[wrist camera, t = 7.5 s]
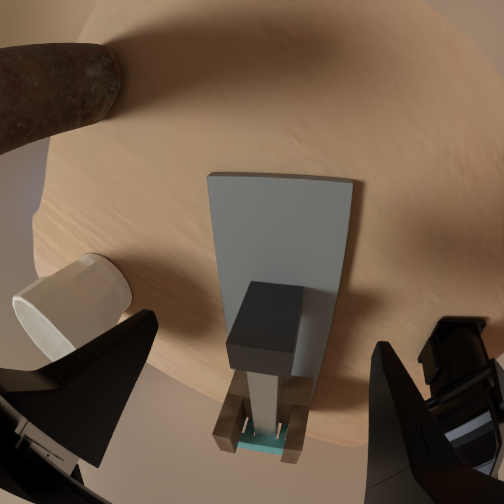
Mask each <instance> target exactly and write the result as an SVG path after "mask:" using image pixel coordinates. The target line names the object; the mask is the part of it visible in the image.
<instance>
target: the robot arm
mask: <svg viewBox="0 0 504 504" xmlns="http://www.w3.org/2000/svg"><path fill="white" fill-rule="evenodd" d="M486 324H487V323H486V321H485V320H484V319H441V320H439V321H438V322H437V324H436V326H435V328H434V330H433V332H432V334H431V336H430V337H429V339H428V340H427V342H426V344H425V346H424V347H423V349H422V351H421V353H420V355H419V357H418V363H422V365H423V371H424V377H425V383H426V384H427V385H429V386H430V392H431V398H429V399H427V400H424V399H423V397H422V395H421V393H420V392H419V390H418V388H417V387H416V385H415V383H414V382H413V380H412V378H411V377H410V375H409V373H408V372H407V370H406V369H405V367H404V365H403V364H402V362H401V360H400V359H399V357H398V356H397V354H396V353H395V351H394V349H393V348H392V346H391V345H390V343H389V342H387V341H378V342H377V344H376V346H375V349H374V351H373V354H372V357H371V370H370V384H369V441H368V465H367V480H366V491H365V499H364V504H504V481H501V480H498V470H499V468H500V465H501V462H502V460H503V457H504V370H503V369H502V367H501V366H500V365H499V363H498V362H497V361H496V359H495V358H494V357H493V358H492V359H490V360H489V357H488V354H487V351H486V349H485V346H484V343H483V340H482V338H481V333H482V331H483V330H484V328H485V326H486ZM158 327H159V325H158V321H157V318H156V316H155V313H154V311H153V310H149V309H143V310H141V311H139V312H138V313H136V314H134V315H133V316H131V317H129V318H128V319H126V320H124V321H123V322H121V323H119V324H118V325H116V326H114V327H113V328H111V329H110V330H108V331H106V332H105V333H103V334H101V335H100V336H98V337H96V338H95V339H93V340H91V341H90V342H88V343H86V344H85V345H83V346H82V347H80V348H78V349H76V350H75V351H73V352H71V353H69V354H68V355H66V356H64V357H62V358H60V359H58V360H56V361H54V362H52V363H50V364H48V365H46V366H44V367H42V368H40V369H38V370H34V371H22V370H13V369H4V368H0V488H1V489H3V490H5V491H7V492H9V493H12V494H14V495H16V496H18V497H20V498H23V499H25V500H27V501H30V502H32V503H35V504H112V503H111V502H109V501H107V500H105V499H104V498H102V497H100V496H99V495H97V494H96V493H94V492H93V491H91V490H89V489H88V488H87V487H85V486H84V483H83V479H82V476H81V472H80V469H79V465H78V464H77V462H78V460H79V458H81V459H83V460H84V461H86V462H88V463H89V464H91V465H93V466H95V467H96V468H99V466H100V463H101V461H102V459H103V456H104V454H105V451H106V449H107V446H108V444H109V442H110V439H111V437H112V435H113V432H114V430H115V428H116V425H117V423H118V421H119V418H120V416H121V414H122V412H123V410H124V407H125V405H126V403H127V401H128V398H129V396H130V394H131V392H132V389H133V388H134V385H135V383H136V381H137V379H138V377H139V375H140V373H141V371H142V369H143V366H144V364H145V362H146V360H147V358H148V355H149V353H150V350H151V347H152V344H153V342H154V339H155V336H156V333H157V331H158ZM492 386H493V387H492Z"/></svg>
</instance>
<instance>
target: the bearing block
mask: <svg viewBox="0 0 504 504" xmlns="http://www.w3.org/2000/svg"><path fill="white" fill-rule="evenodd" d="M313 379H314V378H311V377H302V376H293V375H291V378H287V377H282V382H281V398H280V412H279V423H285V424H289V426H288V431H287V435H286V440H285V445H284V449H283V454H282V458H281V462H285V463H293V464H296V463H297V461H298V459H299V456H300V454H301V452H302V447H303V443H304V437H305V432H306V426H307V420H308V414H309V407H310V400H311V394H312V386H313ZM246 417H249V418H253V416H252V409H251V401H250V393H249V386H248V378H247V371H242V370H237V369H236V370H235V373H234V376H233V378H232V381H231V384H230V387H229V390H228V392H227V395H226V398H225V401H224V404H223V406H222V409H221V412H220V415H219V417H218V420H217V423H216V426H215V428H214V431H213V433H212V435H213V437H214V439H215V441H216V443H217V445H218V447H219V448H220V450H223V451H227V452H231V453H235V452H236V449H237V446H238V443H239V440H240V436H241V433H242V430H243V426H244V423H245V420H246Z"/></svg>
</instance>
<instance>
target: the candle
mask: <svg viewBox="0 0 504 504" xmlns="http://www.w3.org/2000/svg"><path fill="white" fill-rule="evenodd" d="M120 86H121V69H120V67H119V65H118V62H117V59H116V57H115V55H114V53H113V52H112V50H111V49H110V48H109V47H108V46H104V45H99V44H90V43H47V44H32V45H22V46H13V47H7V48H0V155H1V154H4V153H6V152H9V151H11V150H14V149H16V148H18V147H21V146H23V145H26V144H28V143H31V142H34V141H37V140H40V139H43V138H46V137H49V136H53V135H56V134H59V133H63V132H66V131H70V130H74V129H77V128H81V127H84V126H88V125H92V124H95V123H98V122H99V121H101V120H102V119H103V118H104V117H105V116H106V114H107V112H108V110H109V109H110V108H111V106H112V104H113V103H114V101H115V98H116V97H117V95H118V92H119V90H120Z"/></svg>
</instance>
